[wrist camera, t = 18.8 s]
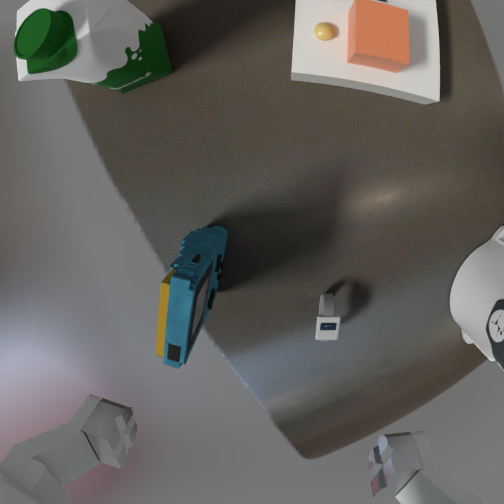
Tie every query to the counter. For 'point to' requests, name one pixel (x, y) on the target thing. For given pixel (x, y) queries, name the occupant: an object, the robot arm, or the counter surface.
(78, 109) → the counter surface
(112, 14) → the milk carton
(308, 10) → the box
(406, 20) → the cap
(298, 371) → the counter surface
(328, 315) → the wristwatch
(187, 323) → the handheld gaming console
